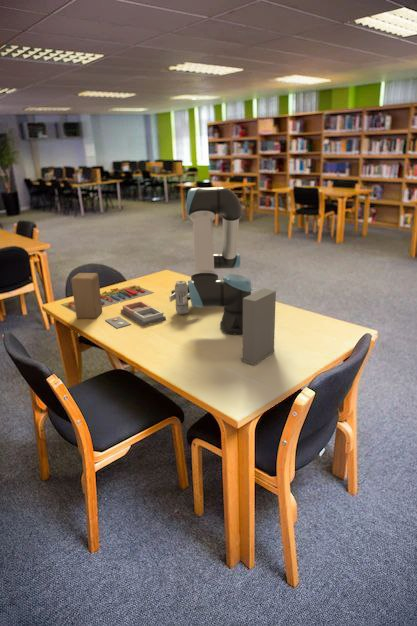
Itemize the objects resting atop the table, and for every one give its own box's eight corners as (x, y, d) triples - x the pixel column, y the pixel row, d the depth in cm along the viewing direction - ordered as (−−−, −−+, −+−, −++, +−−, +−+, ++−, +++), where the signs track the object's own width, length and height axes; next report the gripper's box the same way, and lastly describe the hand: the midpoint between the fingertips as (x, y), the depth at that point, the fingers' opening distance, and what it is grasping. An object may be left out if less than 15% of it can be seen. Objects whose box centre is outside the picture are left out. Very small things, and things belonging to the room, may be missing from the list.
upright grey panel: (261, 348, 173) (262, 288, 164) (274, 352, 170) (276, 291, 161) (240, 361, 164) (240, 297, 154) (254, 366, 160) (255, 301, 151)
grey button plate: (130, 324, 199) (130, 323, 199) (116, 328, 195) (116, 327, 195) (119, 317, 208) (118, 315, 208) (105, 320, 204) (105, 319, 204)
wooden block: (103, 311, 216) (98, 272, 208) (96, 319, 206) (91, 278, 199) (83, 311, 217) (78, 272, 209) (75, 319, 207) (70, 278, 200)
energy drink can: (177, 315, 207) (175, 284, 201) (175, 310, 212) (173, 280, 207) (189, 313, 208) (188, 283, 203) (187, 309, 213) (186, 279, 208)
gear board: (134, 282, 254) (154, 289, 241) (134, 286, 255) (154, 293, 241) (60, 300, 226) (77, 310, 213) (61, 305, 227) (78, 315, 214)
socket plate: (165, 319, 204) (165, 312, 203) (142, 325, 197) (142, 318, 196) (142, 306, 221) (142, 300, 219) (121, 312, 214) (120, 305, 213)
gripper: (215, 294, 220) (195, 309, 201) (181, 290, 228) (159, 305, 208) (214, 280, 218) (195, 294, 198) (180, 276, 225) (158, 290, 205)
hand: (176, 299), depth 203 cm, fingers closed on energy drink can, 6 cm apart
